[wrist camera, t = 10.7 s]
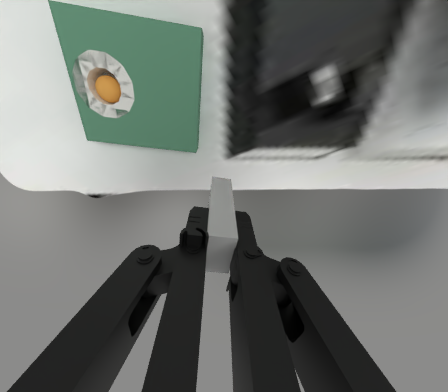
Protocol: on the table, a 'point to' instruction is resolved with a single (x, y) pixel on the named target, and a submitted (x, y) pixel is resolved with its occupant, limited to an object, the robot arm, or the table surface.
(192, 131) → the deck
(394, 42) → the table surface
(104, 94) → the ball
